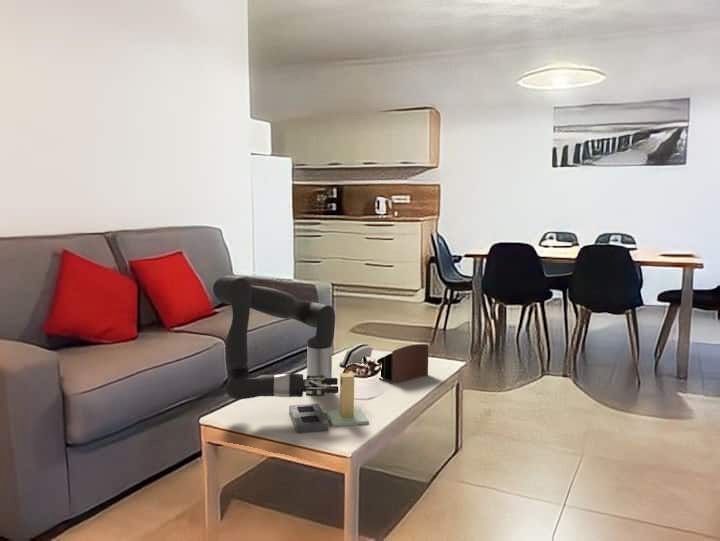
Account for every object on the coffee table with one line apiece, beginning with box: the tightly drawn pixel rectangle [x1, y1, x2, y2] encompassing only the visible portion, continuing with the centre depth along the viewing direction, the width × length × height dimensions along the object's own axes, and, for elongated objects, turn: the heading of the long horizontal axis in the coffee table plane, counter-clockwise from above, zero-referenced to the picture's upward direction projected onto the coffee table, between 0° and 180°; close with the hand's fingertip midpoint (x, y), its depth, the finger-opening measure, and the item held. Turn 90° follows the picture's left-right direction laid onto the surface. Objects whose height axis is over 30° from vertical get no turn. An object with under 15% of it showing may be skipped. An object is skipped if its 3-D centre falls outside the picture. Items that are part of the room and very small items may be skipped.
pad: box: [325, 407, 370, 428], centre depth 206 cm, size 12×12×1 cm
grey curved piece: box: [338, 342, 373, 367], centre depth 270 cm, size 17×5×10 cm, turn 145°
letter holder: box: [376, 343, 429, 385], centre depth 253 cm, size 10×20×14 cm, turn 129°
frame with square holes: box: [288, 403, 329, 434], centre depth 203 cm, size 18×10×2 cm, turn 14°
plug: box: [339, 372, 355, 418], centre depth 205 cm, size 4×4×14 cm
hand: (337, 385), depth 205 cm, fingers open, 8 cm apart
